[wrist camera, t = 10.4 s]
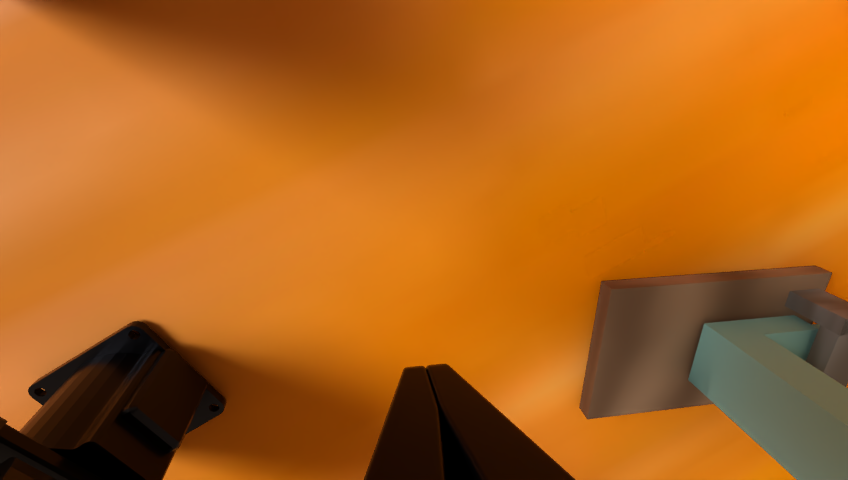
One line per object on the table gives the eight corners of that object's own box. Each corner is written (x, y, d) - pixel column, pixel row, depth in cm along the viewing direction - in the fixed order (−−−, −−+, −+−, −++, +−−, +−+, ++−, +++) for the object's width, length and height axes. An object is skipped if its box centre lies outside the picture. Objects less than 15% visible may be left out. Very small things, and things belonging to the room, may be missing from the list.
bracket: (579, 407, 27) (615, 461, 23) (601, 281, 24) (648, 320, 20) (770, 384, 29) (832, 431, 26) (815, 265, 26) (893, 298, 22)
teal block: (688, 379, 26) (844, 523, 18) (704, 323, 25) (883, 451, 16) (814, 365, 27) (1015, 493, 19) (837, 311, 26) (1065, 424, 18)
